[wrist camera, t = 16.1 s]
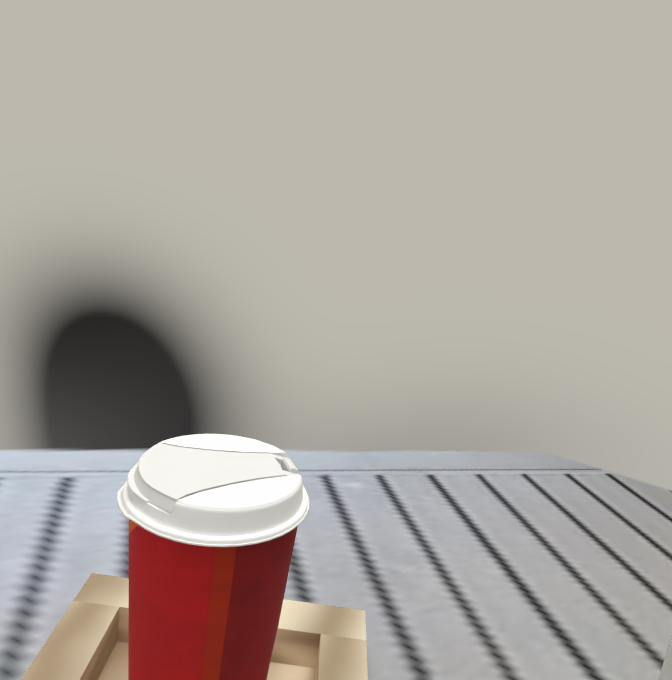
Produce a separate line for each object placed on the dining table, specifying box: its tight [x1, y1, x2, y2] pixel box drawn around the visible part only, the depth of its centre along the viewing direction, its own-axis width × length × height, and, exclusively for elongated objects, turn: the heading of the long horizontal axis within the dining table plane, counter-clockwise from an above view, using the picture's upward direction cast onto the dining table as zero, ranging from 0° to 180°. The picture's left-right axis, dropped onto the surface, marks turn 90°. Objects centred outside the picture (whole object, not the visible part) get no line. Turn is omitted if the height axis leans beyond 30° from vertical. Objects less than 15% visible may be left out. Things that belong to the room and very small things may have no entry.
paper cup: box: [117, 434, 309, 680], centre depth 28 cm, size 8×8×14 cm
